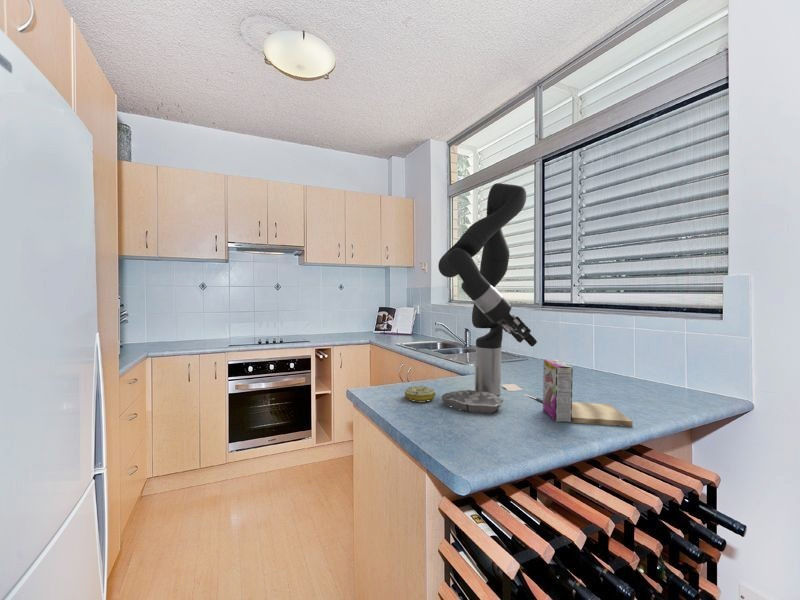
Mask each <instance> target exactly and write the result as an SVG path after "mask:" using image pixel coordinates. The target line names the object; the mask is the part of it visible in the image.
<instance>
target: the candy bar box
mask: <svg viewBox="0 0 800 600" xmlns="http://www.w3.org/2000/svg"><path fill="white" fill-rule="evenodd" d="M573 369H574V367H573V366H571V365H569V364H567V363H565V362H563V361H561V360H559V359H543V379H542V380H543V381H542V383H543V388H542V390H543V391H542V392H543V393H542V395H543V396H542V397H543V398H542V400H543V403H542V410H543V412H544V413H546V414H547V415H548V416H549V417H550V418H551V419H552V420H554V422H556V423H572V402H573Z"/></svg>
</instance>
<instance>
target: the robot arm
mask: <svg viewBox="0 0 800 600" xmlns="http://www.w3.org/2000/svg"><path fill="white" fill-rule="evenodd" d="M526 202H527V191H526V189H525V187H523V186H521V185H516V184H508V183H501V182H498V183H497V182H496V183H494V184H493V185H492V186H491V187H490V189H489V191H488V196H487V203H486V216H485V217H483V218H480V219H478V220H477V221H474V223H473V224H471V225H470V226H469V227H468V228H467V229H466V231H464V233H463V234H462V235H461V236H460V237H459V239H458V241H457V242H456V243H455V244H453V246H451V247H450V248H449V249H448V250H447V251H446V252H445V253H444V254H443V255H442V256H441V257H440V259H439V262H438V270H439V273H440V274H441V276H443V277H445V278H454V277H457V276H459V277H460V279H461V280H462V283H461V287H460V288H461V289H462V291H463V292H464V293H465V294H466V295H467V296H468V297H469V298H470V300H471V301H472V302H473V306H472V312H471V323H472V325H473V327H474V328H476V329H490V330H489V331H488V333H486V334H484V335H482V336H480V337H477V338H476V339H475V365H474V391H477V392H488V393H491V394H493V395H496V396H497V397H498V396H499V395H501V388H502V387H501V386H502V383H501V382H502V381H501V379H502V374H501V373H502V344H503V343H502V342H503V334H504V333H503V332H506V333H508V334H509V335H511V336H512V337H513V338H514V339H515V340H516V341H517V342H518V343H522V342H523V341H525V342H526V343H527V344H528V345H529V346H530V347H534V346H535V345H536V344H538V341H537V339H536V338H535V337H534V336H533V335H532V334H531V333H532V330H531V329H530V328H529V327H528V326H527V325H526V323H524V322H523V320H522V319H521V318H520V317H519V316H515V315H514V314H513V315H512V314H511V313H510V312H511V310H512V308H513V307H512V304H510V302H508V300H507V299H506V298H505V297H504V296H503V295H502V294H501V293H500V292H499V291H498V290H497V289H496V287H497V285H498V284H499V283H500V282H501V281H502V279H503V278H504V277H505V275H506V274H507V271H508V265H509V262H510V249H509V246H508V243H507V240H506V238H505V236H504V232H503V230H502V229H503V227H505V226H506V225H507V224H509V222H510V221H512V220H513V219H514V218H515V217H516V216H518V215H519V214H520V213H521V212H522V210H523V209H524V207H525V205H526ZM481 250H482V252H481ZM479 252H481V258H480V265H479V267H478V266H477V264H476V262H475V261H474V259H473V257H475V256H476V255H477V254H478V253H479Z"/></svg>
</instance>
